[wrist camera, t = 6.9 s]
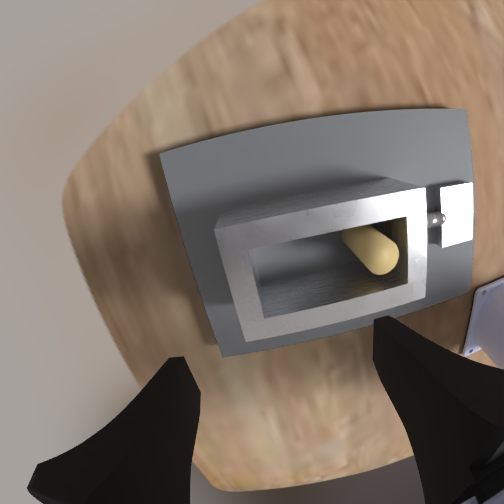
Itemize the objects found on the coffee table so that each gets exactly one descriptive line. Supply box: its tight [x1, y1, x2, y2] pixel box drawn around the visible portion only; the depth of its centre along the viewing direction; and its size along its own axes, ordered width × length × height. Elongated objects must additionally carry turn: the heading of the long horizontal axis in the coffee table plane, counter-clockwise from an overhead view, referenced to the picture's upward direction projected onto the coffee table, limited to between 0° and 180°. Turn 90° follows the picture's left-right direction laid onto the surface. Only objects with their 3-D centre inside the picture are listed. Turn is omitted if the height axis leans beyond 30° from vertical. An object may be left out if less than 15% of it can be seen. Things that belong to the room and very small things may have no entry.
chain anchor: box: [426, 181, 473, 248], centre depth 16 cm, size 5×4×1 cm
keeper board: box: [159, 109, 475, 357], centre depth 16 cm, size 20×14×6 cm
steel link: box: [214, 178, 427, 342], centre depth 15 cm, size 10×6×4 cm, turn 103°
